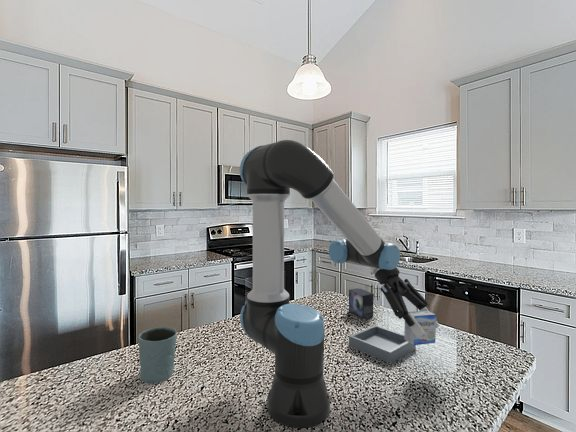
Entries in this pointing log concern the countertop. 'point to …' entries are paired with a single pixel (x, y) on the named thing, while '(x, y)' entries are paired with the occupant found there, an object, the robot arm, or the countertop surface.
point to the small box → (361, 303)
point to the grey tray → (381, 343)
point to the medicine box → (427, 324)
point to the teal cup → (157, 354)
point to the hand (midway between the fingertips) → (429, 331)
